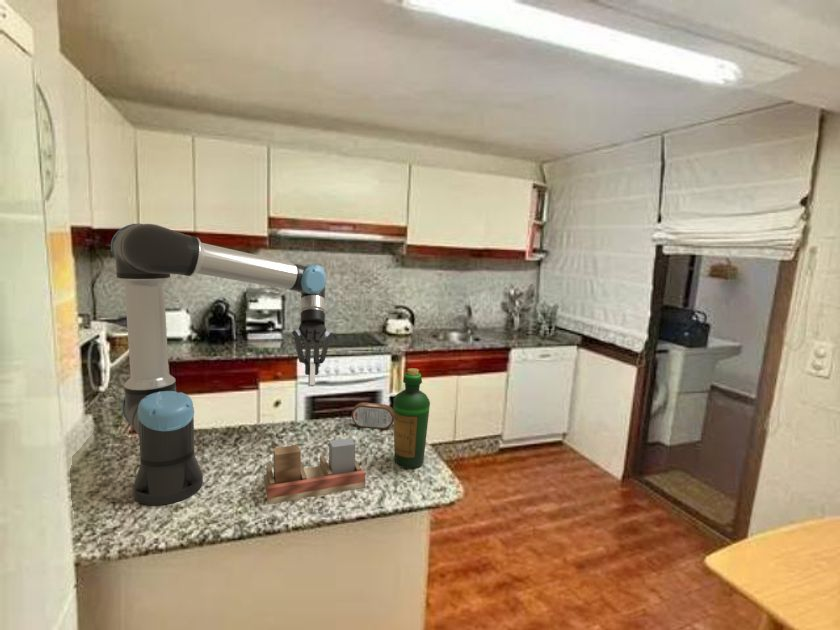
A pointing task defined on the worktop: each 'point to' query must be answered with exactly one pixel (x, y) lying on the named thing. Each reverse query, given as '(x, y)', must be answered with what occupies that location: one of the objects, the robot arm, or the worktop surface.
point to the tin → (373, 415)
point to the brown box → (287, 464)
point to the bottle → (410, 422)
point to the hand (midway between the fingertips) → (311, 385)
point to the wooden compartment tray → (312, 483)
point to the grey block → (342, 456)
